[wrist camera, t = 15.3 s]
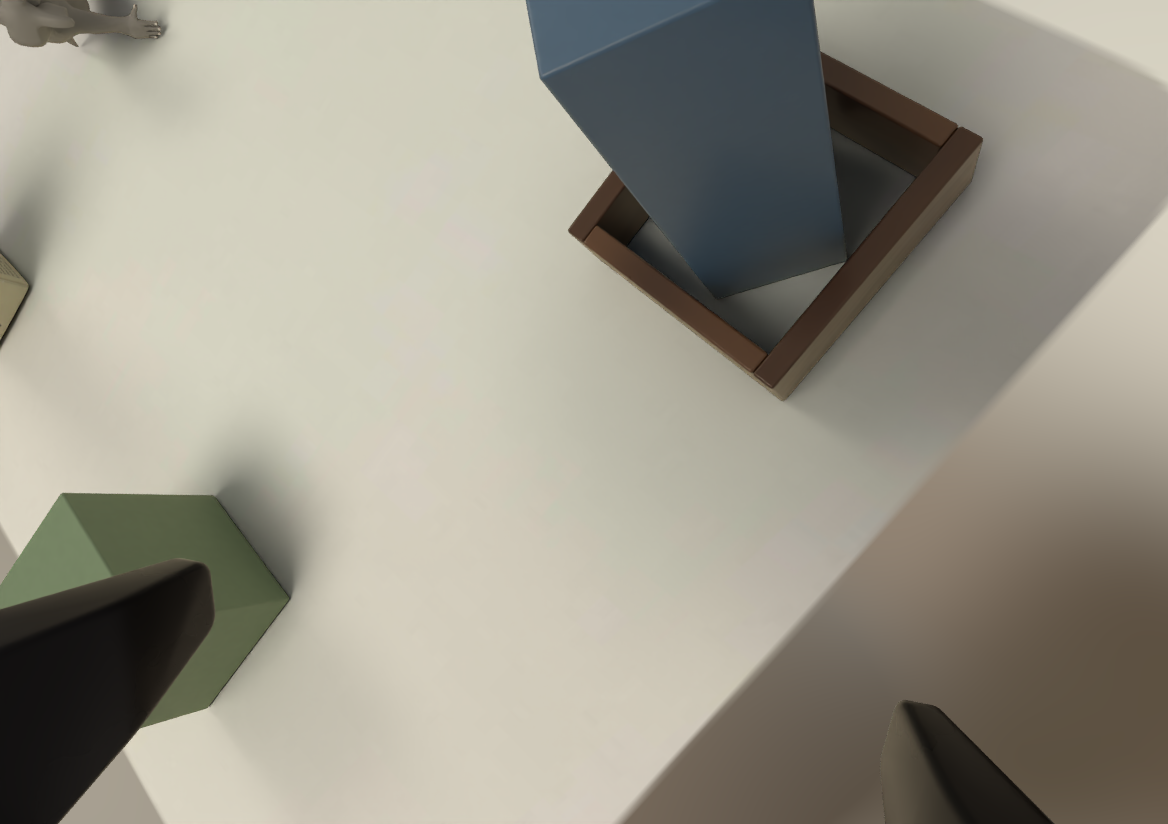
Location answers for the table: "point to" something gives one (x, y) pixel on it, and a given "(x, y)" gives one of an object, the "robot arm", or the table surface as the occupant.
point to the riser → (142, 538)
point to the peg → (706, 125)
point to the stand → (941, 177)
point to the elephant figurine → (66, 22)
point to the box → (10, 293)
